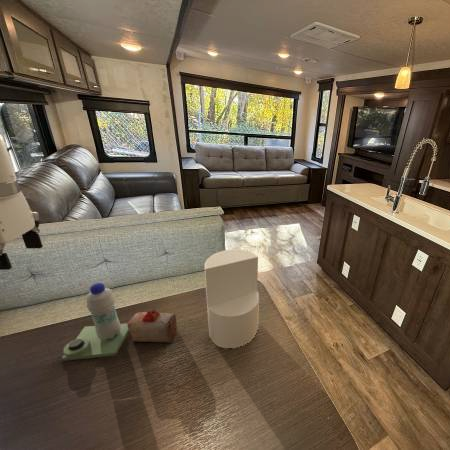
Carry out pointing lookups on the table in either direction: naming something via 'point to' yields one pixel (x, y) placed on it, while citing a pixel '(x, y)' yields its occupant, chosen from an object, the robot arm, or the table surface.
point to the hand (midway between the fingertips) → (19, 257)
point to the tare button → (76, 344)
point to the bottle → (103, 311)
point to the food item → (153, 327)
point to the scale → (95, 344)
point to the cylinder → (232, 297)
